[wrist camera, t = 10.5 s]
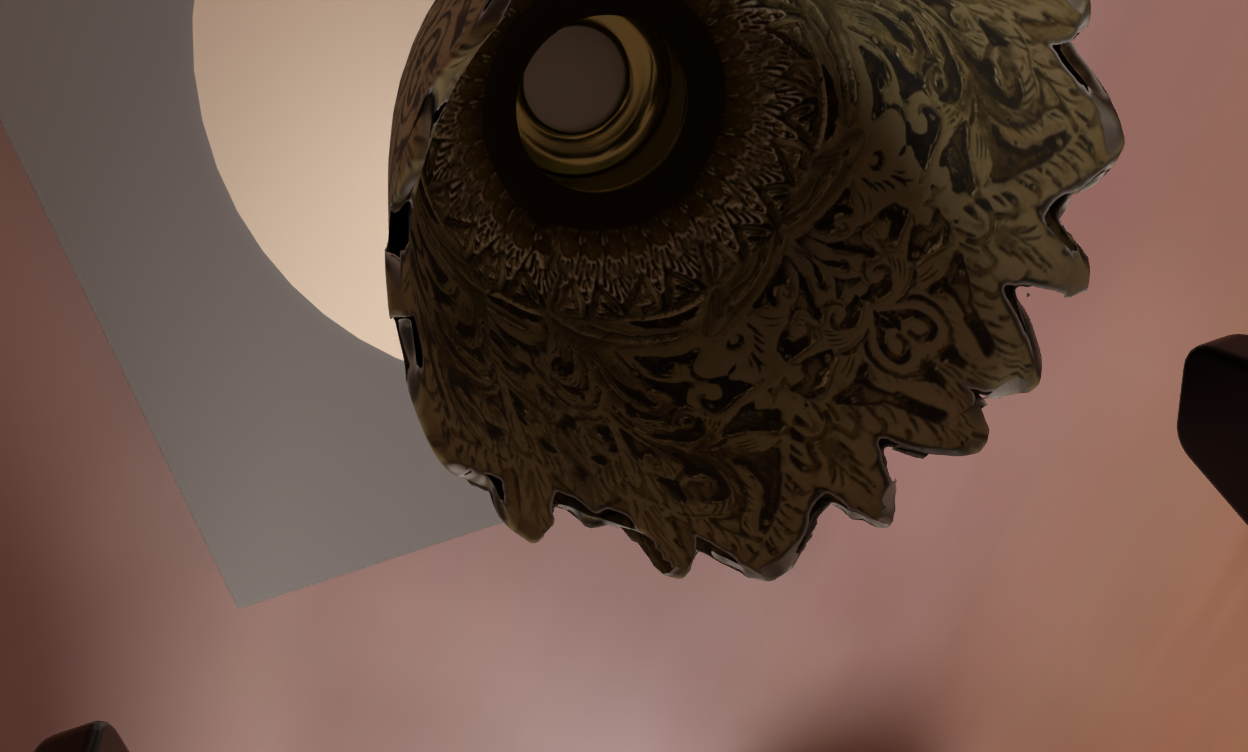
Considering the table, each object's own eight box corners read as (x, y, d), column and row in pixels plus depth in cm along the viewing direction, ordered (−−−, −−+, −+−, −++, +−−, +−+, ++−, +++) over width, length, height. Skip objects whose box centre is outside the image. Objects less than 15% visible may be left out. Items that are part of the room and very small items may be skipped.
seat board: (975, 332, 24) (1010, 359, 23) (238, 568, 21) (237, 612, 20) (978, -645, 15) (1035, -677, 14) (-248, -458, 13) (-295, -479, 12)
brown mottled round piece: (239, 170, 16) (238, 451, 10) (486, -310, 14) (701, -377, 8) (634, 358, 20) (834, 658, 13) (874, -4, 18) (1250, 131, 11)
